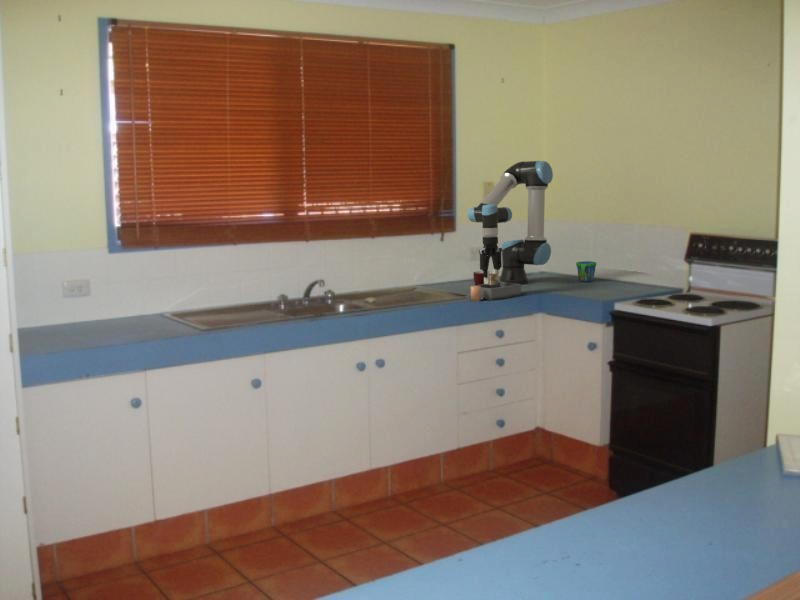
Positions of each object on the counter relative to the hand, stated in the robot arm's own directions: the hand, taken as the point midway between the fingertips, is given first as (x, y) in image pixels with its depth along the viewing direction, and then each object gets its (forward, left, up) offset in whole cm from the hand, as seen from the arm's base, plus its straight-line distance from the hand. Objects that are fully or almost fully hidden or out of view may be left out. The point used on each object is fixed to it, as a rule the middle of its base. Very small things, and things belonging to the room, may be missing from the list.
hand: (491, 283), depth 444 cm
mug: (-7, -13, -6) cm, 16 cm away
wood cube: (0, 0, 0) cm, 0 cm away
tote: (0, +3, -6) cm, 7 cm away
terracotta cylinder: (+15, +5, -6) cm, 17 cm away
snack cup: (-65, +5, -7) cm, 65 cm away
